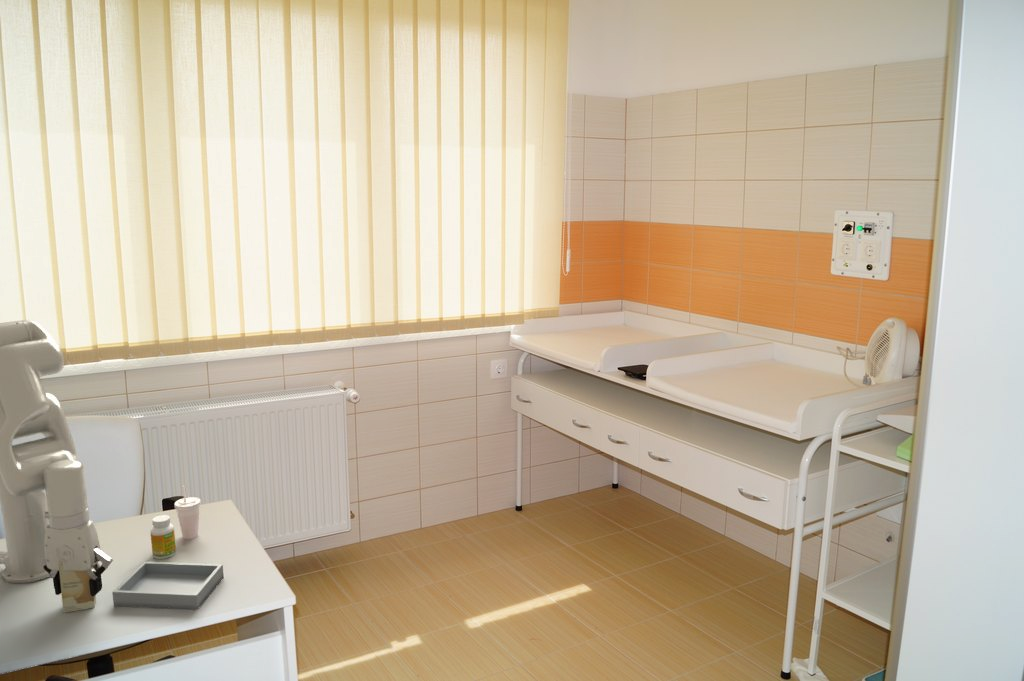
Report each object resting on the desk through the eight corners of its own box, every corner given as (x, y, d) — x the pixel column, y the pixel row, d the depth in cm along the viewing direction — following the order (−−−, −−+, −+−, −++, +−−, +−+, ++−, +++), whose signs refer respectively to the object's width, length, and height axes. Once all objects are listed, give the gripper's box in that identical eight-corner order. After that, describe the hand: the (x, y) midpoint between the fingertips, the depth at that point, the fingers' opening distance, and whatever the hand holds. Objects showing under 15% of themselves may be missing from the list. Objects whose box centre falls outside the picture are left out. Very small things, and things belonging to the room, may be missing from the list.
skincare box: (63, 613, 169) (56, 562, 167) (65, 603, 173) (58, 553, 171) (96, 607, 172) (90, 556, 169) (97, 597, 176) (91, 547, 173)
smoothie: (181, 531, 208) (177, 481, 205) (206, 530, 209) (202, 481, 206) (174, 542, 202) (169, 491, 199) (199, 541, 202) (195, 490, 199)
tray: (113, 606, 172) (112, 592, 172) (145, 575, 186) (144, 561, 185) (198, 609, 171) (196, 595, 171) (223, 577, 185) (222, 564, 184)
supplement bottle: (167, 560, 193) (163, 524, 190) (147, 558, 194) (144, 522, 191) (180, 550, 198) (177, 514, 196) (161, 548, 199) (158, 512, 197)
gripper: (18, 524, 165) (29, 600, 169) (98, 526, 164) (107, 603, 168) (41, 509, 172) (51, 582, 176) (118, 511, 171) (126, 584, 175)
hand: (78, 591), depth 172 cm, fingers closed on skincare box, 7 cm apart
